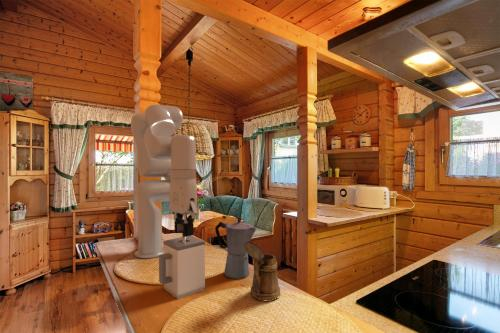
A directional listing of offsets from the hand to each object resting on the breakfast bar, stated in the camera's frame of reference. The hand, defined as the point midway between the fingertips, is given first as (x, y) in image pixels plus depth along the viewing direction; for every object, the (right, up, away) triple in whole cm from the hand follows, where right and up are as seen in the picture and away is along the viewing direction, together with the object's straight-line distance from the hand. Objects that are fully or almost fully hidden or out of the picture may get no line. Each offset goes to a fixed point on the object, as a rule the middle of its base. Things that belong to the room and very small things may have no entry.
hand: (183, 233), depth 87 cm
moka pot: (+15, -17, +12) cm, 26 cm away
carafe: (-1, -17, -1) cm, 17 cm away
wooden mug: (+24, -18, -5) cm, 30 cm away
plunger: (0, -13, 0) cm, 13 cm away
